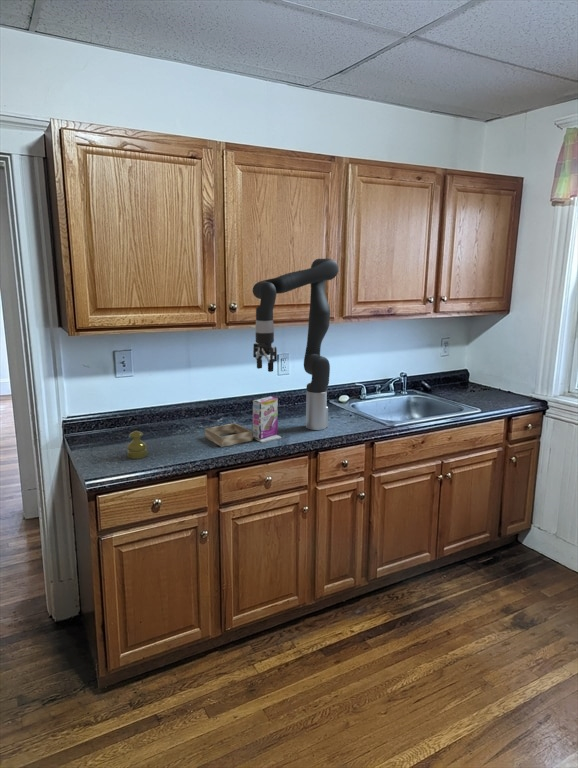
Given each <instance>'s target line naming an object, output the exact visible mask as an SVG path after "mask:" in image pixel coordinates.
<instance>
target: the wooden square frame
mask: <svg viewBox="0 0 578 768" xmlns="http://www.w3.org/2000/svg"><path fill="white" fill-rule="evenodd" d="M204 430H205V431H204V432H205V434H204V437H205V438H206V439H207V440H209V441H211V442H212V443H214V444H216V445H218V446H220V447H221V448H222V447H228V446H233V445H238V444H242V443H247V442H251V441H253V438H252V430H250V429H248V428H247V427H244V426H242V425H240V424H238V423H236V422H233V423H229V424H223V425H218V426H212V427H206V428H204ZM233 433H234V434H233ZM224 435H225V436H224Z"/></svg>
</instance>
